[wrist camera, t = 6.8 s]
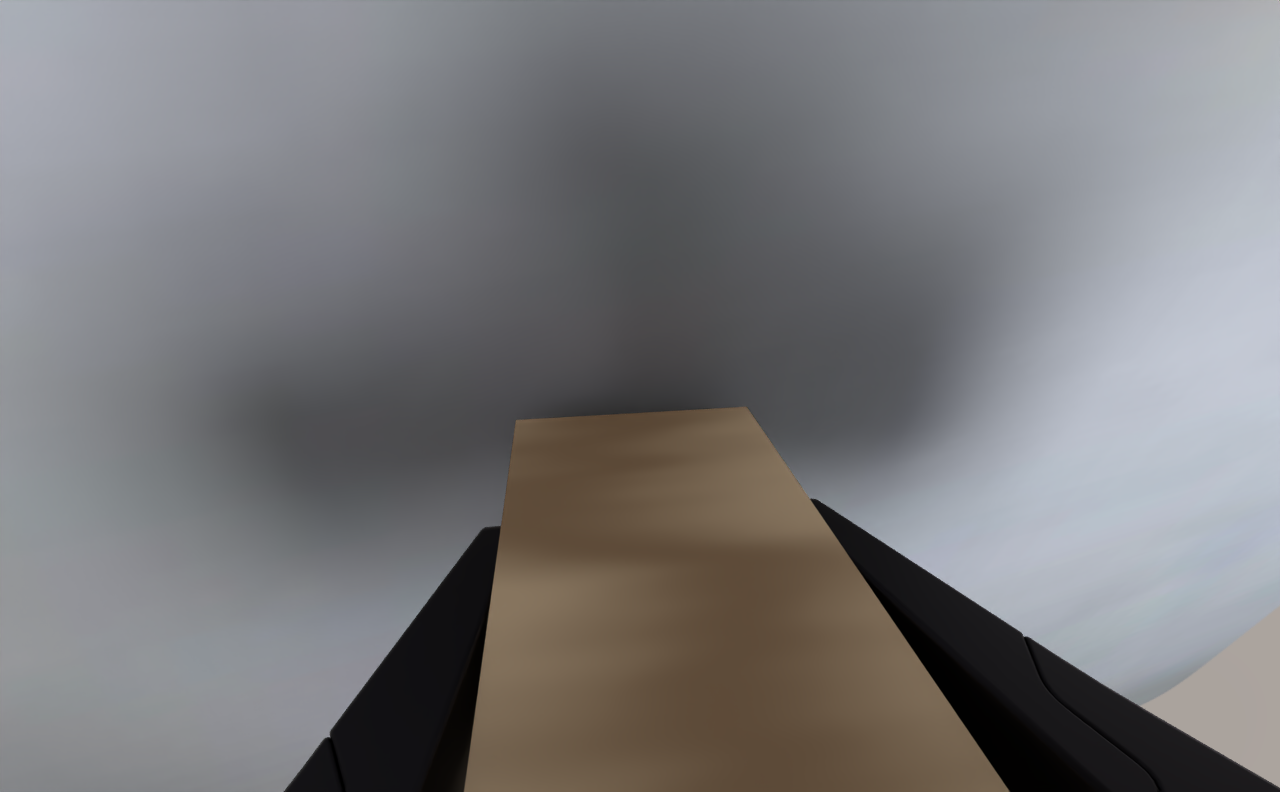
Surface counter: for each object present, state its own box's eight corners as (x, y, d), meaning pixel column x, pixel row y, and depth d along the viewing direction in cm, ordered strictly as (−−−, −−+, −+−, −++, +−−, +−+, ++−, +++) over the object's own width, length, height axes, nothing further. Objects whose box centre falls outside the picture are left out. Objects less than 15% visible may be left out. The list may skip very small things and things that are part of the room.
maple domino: (523, 480, 10) (459, 1150, 4) (515, 419, 10) (415, 1130, 3) (737, 464, 11) (1023, 994, 4) (746, 406, 10) (1112, 942, 4)
